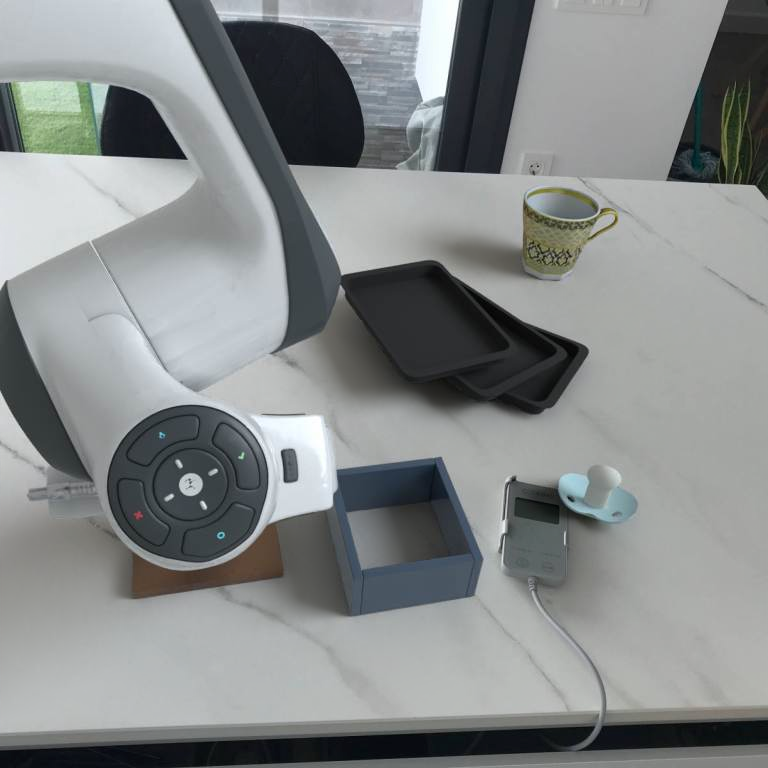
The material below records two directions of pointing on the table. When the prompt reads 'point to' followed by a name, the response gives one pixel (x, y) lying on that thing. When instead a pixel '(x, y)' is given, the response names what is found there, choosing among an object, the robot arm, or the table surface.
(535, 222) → the ceramic cup
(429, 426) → the table surface
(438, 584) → the holder
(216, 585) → the coaster
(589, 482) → the pacifier
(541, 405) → the tray
